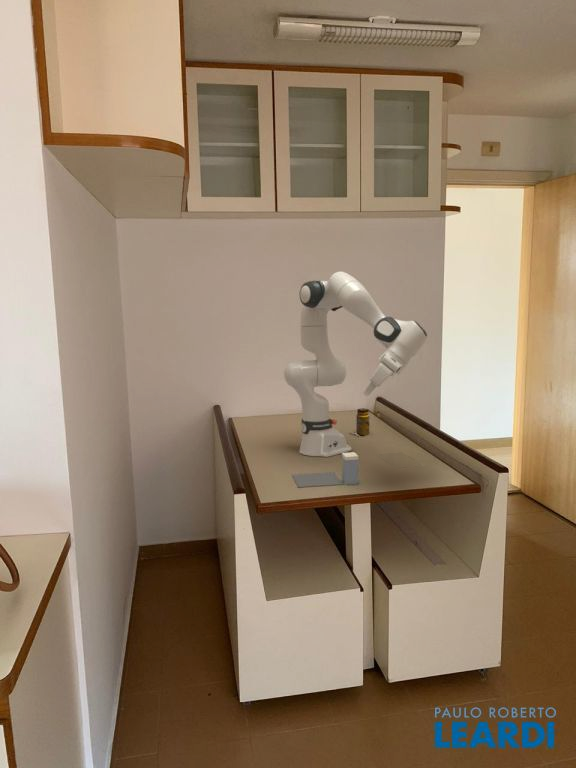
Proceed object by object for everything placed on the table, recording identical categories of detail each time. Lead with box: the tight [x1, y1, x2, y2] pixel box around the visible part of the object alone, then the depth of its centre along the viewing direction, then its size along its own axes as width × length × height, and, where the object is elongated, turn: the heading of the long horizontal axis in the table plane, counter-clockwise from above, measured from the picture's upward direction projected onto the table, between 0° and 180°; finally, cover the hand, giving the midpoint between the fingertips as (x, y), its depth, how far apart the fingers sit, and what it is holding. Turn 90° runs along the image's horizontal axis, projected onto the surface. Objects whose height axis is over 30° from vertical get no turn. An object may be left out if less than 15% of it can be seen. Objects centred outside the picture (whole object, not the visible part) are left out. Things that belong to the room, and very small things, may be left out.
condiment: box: [355, 408, 370, 436], centre depth 276 cm, size 7×8×12 cm
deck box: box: [341, 451, 359, 486], centre depth 208 cm, size 5×5×10 cm
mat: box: [291, 471, 344, 489], centre depth 212 cm, size 16×14×1 cm
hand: (365, 394), depth 203 cm, fingers open, 8 cm apart
